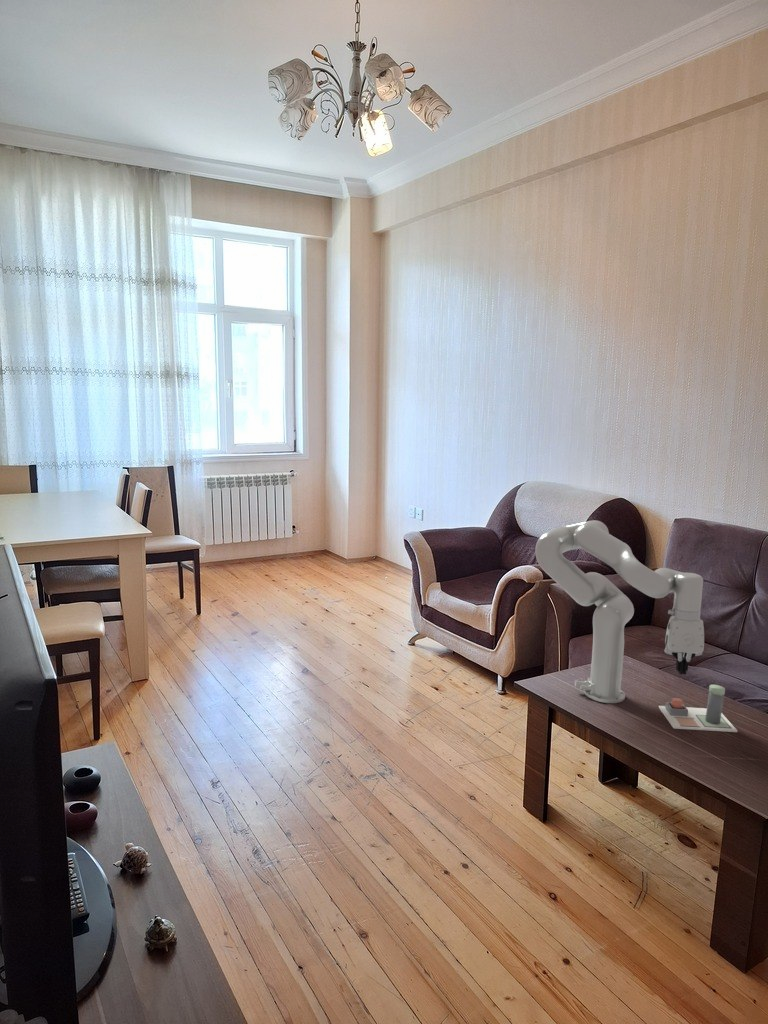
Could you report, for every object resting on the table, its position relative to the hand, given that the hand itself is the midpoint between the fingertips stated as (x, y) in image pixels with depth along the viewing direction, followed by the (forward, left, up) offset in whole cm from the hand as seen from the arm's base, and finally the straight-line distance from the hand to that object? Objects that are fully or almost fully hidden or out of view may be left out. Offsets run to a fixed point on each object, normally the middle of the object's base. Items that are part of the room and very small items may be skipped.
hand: (681, 672), depth 206 cm
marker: (+9, -5, -13) cm, 16 cm away
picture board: (+5, -3, -13) cm, 15 cm away
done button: (0, 0, -11) cm, 11 cm away
